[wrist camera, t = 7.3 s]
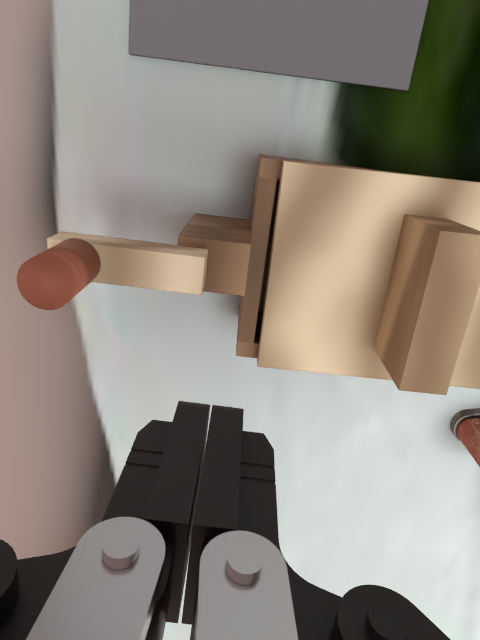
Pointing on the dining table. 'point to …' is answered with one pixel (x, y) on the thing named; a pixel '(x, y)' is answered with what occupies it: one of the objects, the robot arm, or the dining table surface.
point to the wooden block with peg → (108, 267)
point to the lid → (374, 277)
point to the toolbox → (244, 250)
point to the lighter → (468, 430)
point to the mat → (286, 36)
